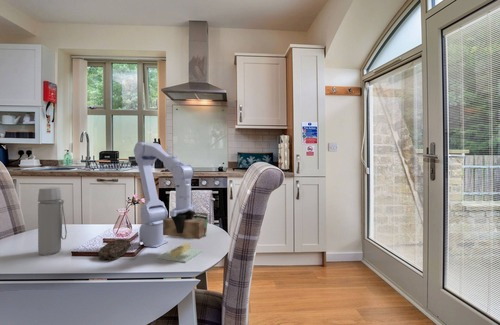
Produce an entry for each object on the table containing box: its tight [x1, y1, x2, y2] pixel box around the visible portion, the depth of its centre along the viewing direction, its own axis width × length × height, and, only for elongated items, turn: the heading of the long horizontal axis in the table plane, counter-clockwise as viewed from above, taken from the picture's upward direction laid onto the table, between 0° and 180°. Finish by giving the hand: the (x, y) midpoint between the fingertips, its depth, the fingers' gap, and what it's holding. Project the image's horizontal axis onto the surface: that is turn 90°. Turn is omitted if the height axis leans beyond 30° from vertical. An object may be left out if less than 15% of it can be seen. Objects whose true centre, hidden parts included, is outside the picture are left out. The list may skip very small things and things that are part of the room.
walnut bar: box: [163, 217, 205, 240], centre depth 102 cm, size 16×4×6 cm, turn 71°
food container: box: [192, 212, 210, 238], centre depth 129 cm, size 12×6×10 cm, turn 74°
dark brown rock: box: [97, 238, 132, 262], centre depth 100 cm, size 12×10×5 cm
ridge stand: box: [157, 242, 204, 263], centre depth 100 cm, size 12×12×3 cm
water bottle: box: [37, 186, 68, 256], centre depth 102 cm, size 9×8×25 cm
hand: (183, 231), depth 102 cm, fingers closed on walnut bar, 4 cm apart
